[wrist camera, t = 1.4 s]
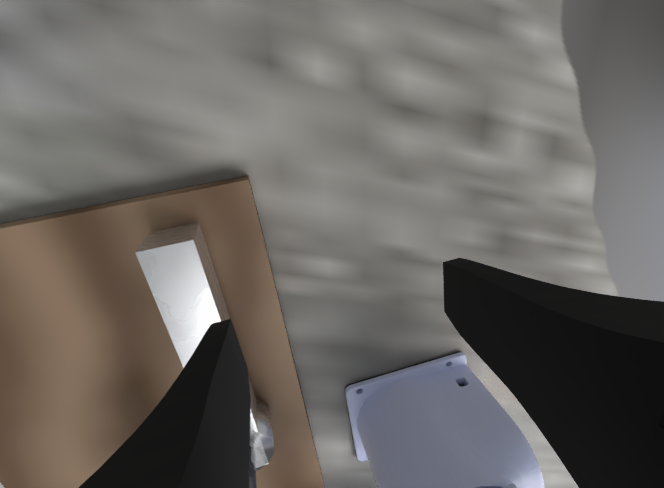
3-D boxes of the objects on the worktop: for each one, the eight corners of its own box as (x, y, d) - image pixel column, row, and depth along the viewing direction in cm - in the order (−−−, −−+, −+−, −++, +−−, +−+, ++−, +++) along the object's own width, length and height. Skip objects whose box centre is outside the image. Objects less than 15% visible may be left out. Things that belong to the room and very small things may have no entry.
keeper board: (248, 175, 19) (251, 203, 14) (322, 478, 29) (338, 553, 24) (-160, 255, 16) (-333, 324, 11) (84, 558, 26) (50, 661, 21)
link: (276, 430, 24) (285, 516, 19) (221, 447, 23) (217, 539, 19) (211, 219, 18) (201, 266, 13) (135, 235, 17) (94, 291, 12)
